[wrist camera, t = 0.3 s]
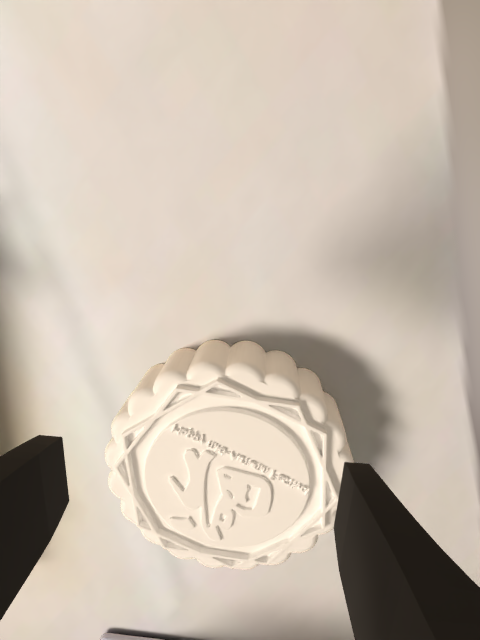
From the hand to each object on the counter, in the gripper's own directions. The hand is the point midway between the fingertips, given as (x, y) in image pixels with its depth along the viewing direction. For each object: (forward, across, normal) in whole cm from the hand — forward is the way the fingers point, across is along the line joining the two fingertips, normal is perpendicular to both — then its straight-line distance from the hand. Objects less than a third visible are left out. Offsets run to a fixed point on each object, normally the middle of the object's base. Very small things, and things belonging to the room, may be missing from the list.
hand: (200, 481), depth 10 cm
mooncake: (+10, 0, +6) cm, 12 cm away
